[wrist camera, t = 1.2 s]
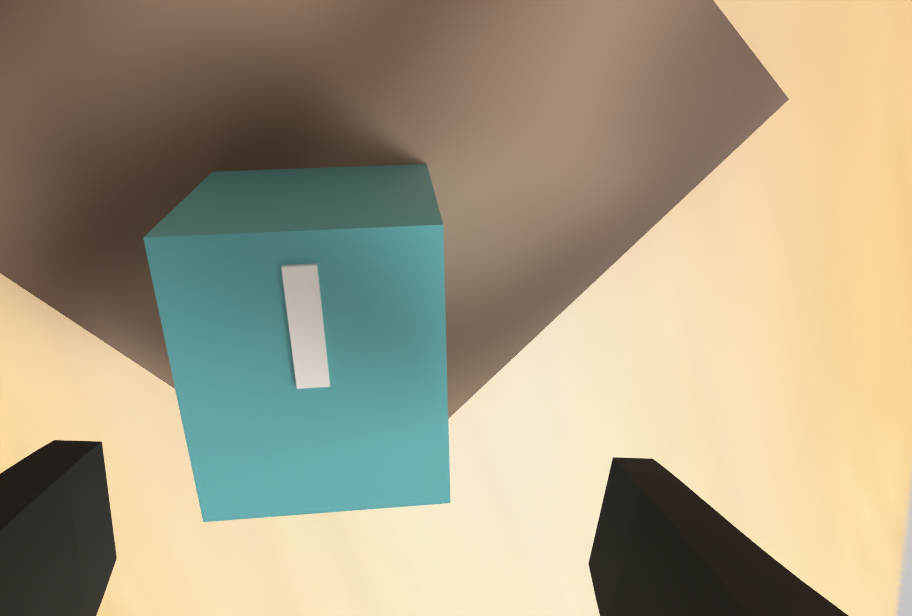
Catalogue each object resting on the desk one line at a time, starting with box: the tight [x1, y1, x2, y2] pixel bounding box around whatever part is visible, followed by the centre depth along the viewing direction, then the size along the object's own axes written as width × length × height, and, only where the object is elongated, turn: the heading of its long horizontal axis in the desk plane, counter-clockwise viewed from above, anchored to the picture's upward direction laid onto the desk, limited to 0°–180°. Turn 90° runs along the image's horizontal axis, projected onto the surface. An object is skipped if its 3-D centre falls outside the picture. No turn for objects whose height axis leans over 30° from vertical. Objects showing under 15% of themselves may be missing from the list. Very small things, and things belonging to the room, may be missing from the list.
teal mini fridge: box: [143, 164, 450, 522], centre depth 15 cm, size 5×6×5 cm
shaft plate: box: [0, 0, 789, 418], centre depth 14 cm, size 18×16×4 cm
